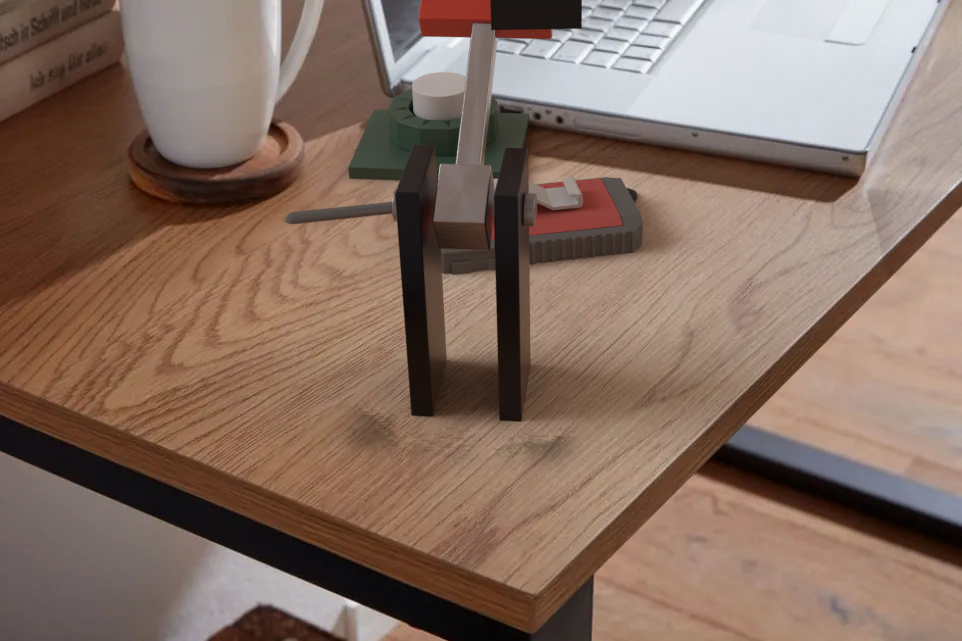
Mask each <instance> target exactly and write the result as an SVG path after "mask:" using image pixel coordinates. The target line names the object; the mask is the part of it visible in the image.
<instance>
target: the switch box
mask: <svg viewBox="0 0 962 641" xmlns="http://www.w3.org/2000/svg"><path fill="white" fill-rule="evenodd" d="M460 122H461V118H457V119H452V120H427V119H423V118H420V117H417V116H415V114H414V111H413V95H412V88H410V89H407V90H406V91H404V92H402V93H400V94H399V95H396V96H394V97H393V98H392V100H391V102H390V104H389V107H388V109H373V110H372V113H371V115H370V117H369V119H368V121H367V124H366V126H365V128H364V131H363V133H362V135H361V137H360V140H359V142H358V144H357V146H356V149H355V152H353V156H352V158H351V160H350V162H349V164H348V167H347V171H348V178H349V179H350V180H373V181H400V179H401V176H402V173H403V171H404V168H405V165H406V163H407V160H408V157H409V154H410V152H411V149H412V146H413V145H434V146H435V149H436V168H437V180H438V172H439V165H440V164H456V155H457V147H458V139H459V130H460ZM529 126H530V114H529V113H517V112H516V113H511V112H498V100H497V99H496V98H494V97H493V95H491V104H490V114H489V123H488V132H487V141H486V150H485V159H484V165H490V166H491V167H492V174H493V179H498V176H499V172H500V168H501V164H502V160H503V155H504V151H505V148H507V147H508V148H525V144H526V139H527V134H528V130H529Z"/></svg>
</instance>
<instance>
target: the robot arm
mask: <svg viewBox="0 0 962 641" xmlns="http://www.w3.org/2000/svg"><path fill="white" fill-rule="evenodd" d="M490 8H491V30H535V29H553V30H579V29H580V30H582V28H583V0H490Z"/></svg>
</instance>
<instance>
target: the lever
mask: <svg viewBox="0 0 962 641" xmlns="http://www.w3.org/2000/svg"><path fill="white" fill-rule="evenodd" d="M417 19H418V24H419V29H420V34H421V37H426V38H468V39H469V38H470V39H469V49H468V57H467V63H466V64H467V65H466V73H465V76H466V80H465V89H464V97H463V105H462V114H461V122H460V130H459V139H458V147H457V155H456V164H440V165H439V172H438V180H437V188H436V196H435V204H434V212H433V225H434V229H435V233H436V237H437V242H438V246H439V248H440V249H459V250H484V251H489V250H490V245H491V236H492V226H493V216H494V200H493V197H494V193H495V188H494V181H493V174H492V167H491V166H490V165H484V159H485V150H486V141H487V132H488V123H489V114H490V104H491V96H493V95H492V94H493V84H494V75H495V66H496V58H497V49H498V39H516V40H517V39H521V40H522V39H525V40H552V38H553V31H554V29H535V30H491V8H490V0H420V4H419V11H418V18H417Z"/></svg>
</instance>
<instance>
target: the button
mask: <svg viewBox="0 0 962 641" xmlns="http://www.w3.org/2000/svg"><path fill="white" fill-rule="evenodd" d="M465 80H466V75H465V74H462V73H457V72H452V71H439V72H431V73H426V74H423V75H421V76H418V77H417V78H416V79H415V80H413V82H412V84H411V89H412V95H413V111H414V114H415V116H417V117H420V118H423V119H427V120H452V119H457V118H461V114H462V105H463V97H464V89H465Z"/></svg>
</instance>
